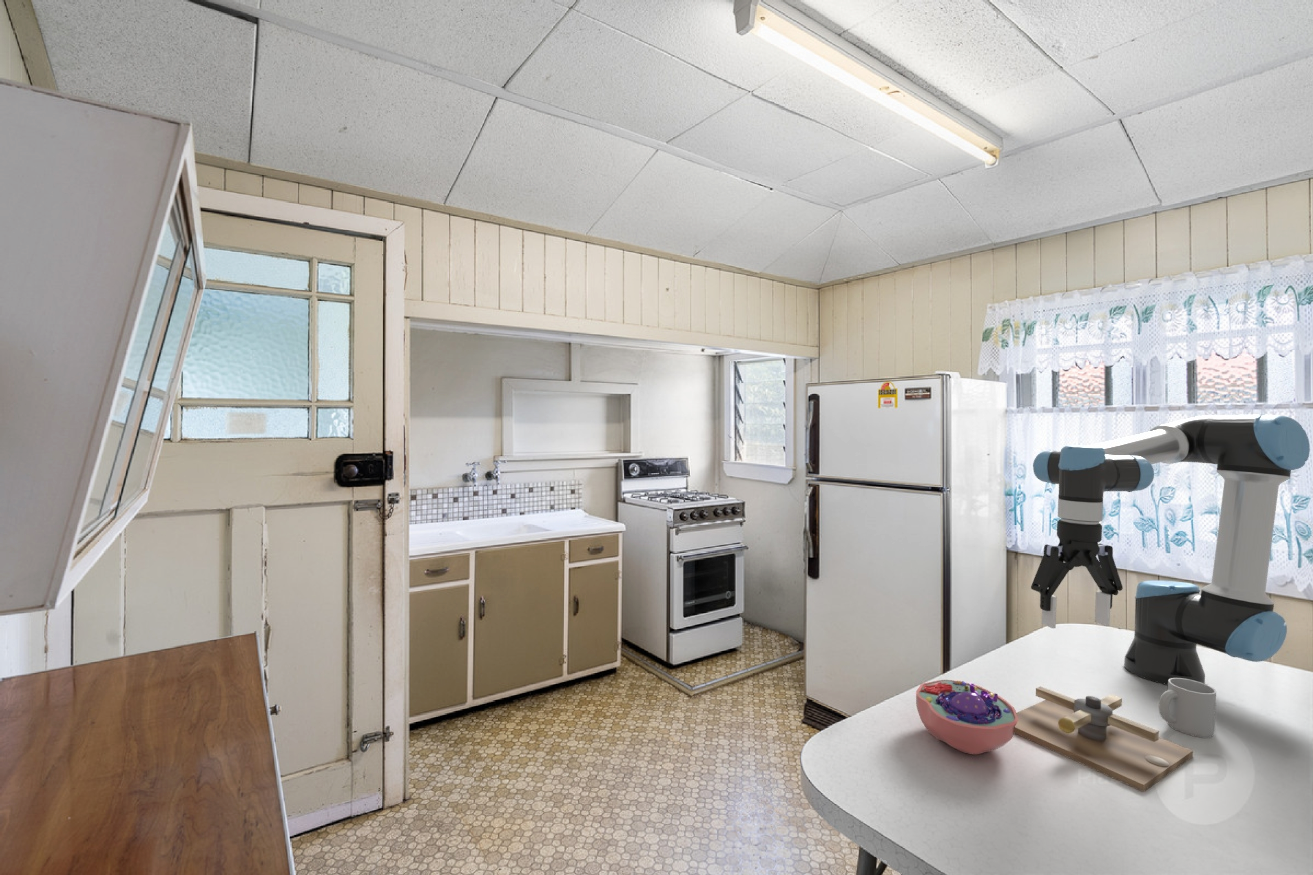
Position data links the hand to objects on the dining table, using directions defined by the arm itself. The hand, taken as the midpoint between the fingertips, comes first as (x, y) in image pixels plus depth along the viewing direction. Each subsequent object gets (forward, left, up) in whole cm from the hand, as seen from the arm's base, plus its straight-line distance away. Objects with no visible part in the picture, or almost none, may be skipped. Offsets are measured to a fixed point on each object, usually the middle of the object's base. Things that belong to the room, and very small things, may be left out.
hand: (1075, 624), depth 121 cm
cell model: (+28, -6, -20) cm, 35 cm away
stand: (+5, +6, -20) cm, 22 cm away
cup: (-17, +13, -20) cm, 29 cm away
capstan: (+6, +6, -16) cm, 18 cm away
